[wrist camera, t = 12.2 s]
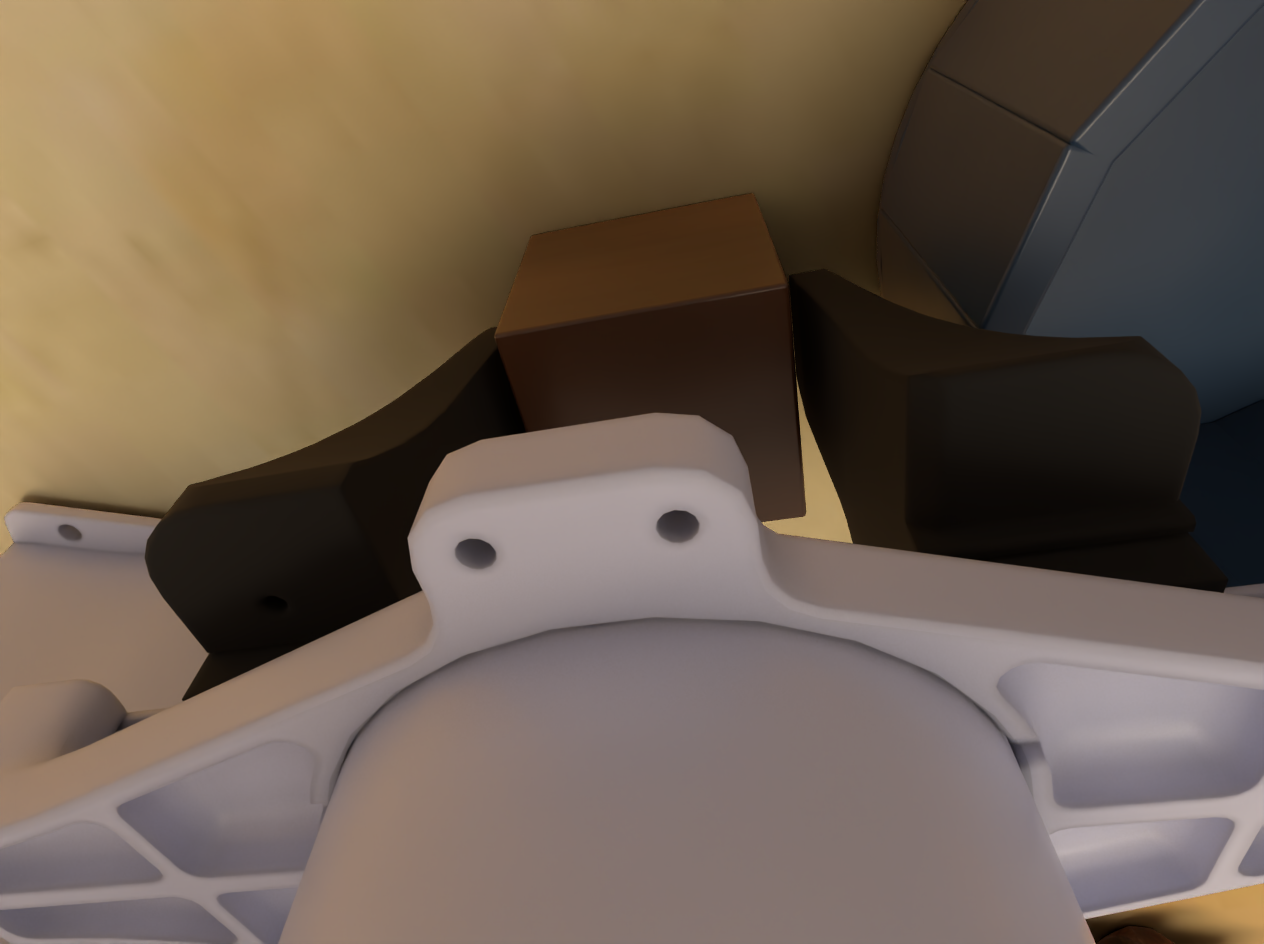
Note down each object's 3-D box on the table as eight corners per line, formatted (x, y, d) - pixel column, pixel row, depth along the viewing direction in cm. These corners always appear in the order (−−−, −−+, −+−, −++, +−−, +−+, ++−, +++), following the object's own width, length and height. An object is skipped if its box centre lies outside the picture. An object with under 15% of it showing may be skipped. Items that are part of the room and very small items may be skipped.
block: (582, 420, 16) (563, 550, 13) (529, 235, 14) (492, 335, 11) (773, 390, 16) (807, 517, 13) (754, 190, 14) (789, 282, 10)
